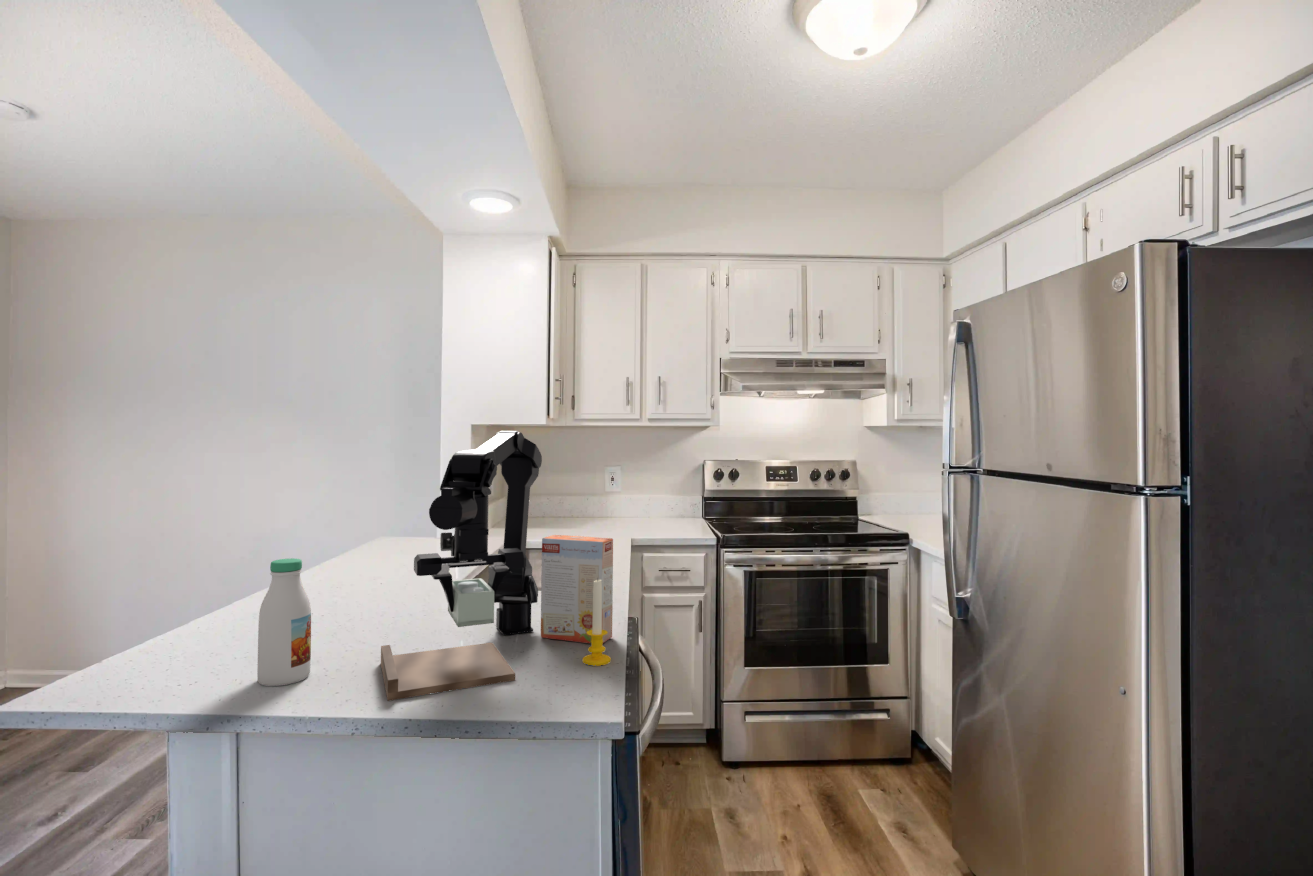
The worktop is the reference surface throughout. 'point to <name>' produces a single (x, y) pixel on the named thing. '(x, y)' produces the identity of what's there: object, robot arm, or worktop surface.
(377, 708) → the worktop surface
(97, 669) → the worktop surface
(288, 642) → the milk bottle
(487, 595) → the pale green crate
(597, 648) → the candle
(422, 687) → the walnut shelf
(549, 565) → the cracker box
